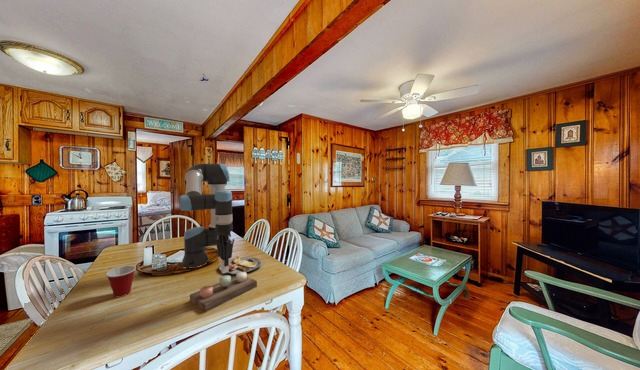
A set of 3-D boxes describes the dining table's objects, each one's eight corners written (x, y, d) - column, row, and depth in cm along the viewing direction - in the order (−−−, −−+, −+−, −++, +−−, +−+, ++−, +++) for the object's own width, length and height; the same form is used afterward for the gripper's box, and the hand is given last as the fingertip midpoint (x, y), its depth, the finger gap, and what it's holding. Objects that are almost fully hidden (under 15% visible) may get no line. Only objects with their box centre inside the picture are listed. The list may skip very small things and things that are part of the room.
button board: (190, 301, 100) (189, 294, 100) (240, 279, 121) (240, 273, 121) (205, 312, 92) (205, 305, 92) (256, 286, 113) (256, 280, 113)
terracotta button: (198, 295, 98) (198, 289, 98) (209, 291, 102) (209, 284, 102) (203, 299, 95) (203, 292, 95) (215, 294, 100) (214, 287, 99)
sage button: (217, 284, 106) (217, 278, 105) (227, 280, 110) (227, 274, 110) (223, 287, 103) (223, 281, 103) (233, 283, 107) (232, 277, 107)
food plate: (210, 270, 133) (210, 264, 133) (240, 258, 153) (241, 253, 153) (240, 280, 121) (240, 273, 121) (268, 265, 142) (269, 260, 142)
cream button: (234, 280, 113) (234, 274, 113) (242, 276, 117) (242, 271, 117) (240, 283, 110) (240, 277, 110) (248, 279, 114) (248, 273, 114)
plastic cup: (102, 303, 99) (101, 276, 98) (111, 291, 108) (110, 267, 108) (133, 296, 104) (132, 271, 103) (139, 286, 113) (138, 263, 113)
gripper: (209, 223, 106) (210, 271, 106) (224, 226, 98) (225, 278, 99) (223, 220, 112) (224, 266, 113) (239, 223, 104) (240, 272, 105)
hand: (225, 272), depth 106 cm, fingers closed
